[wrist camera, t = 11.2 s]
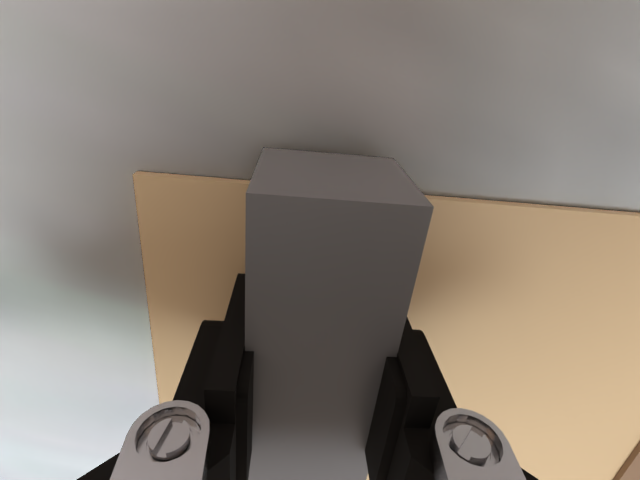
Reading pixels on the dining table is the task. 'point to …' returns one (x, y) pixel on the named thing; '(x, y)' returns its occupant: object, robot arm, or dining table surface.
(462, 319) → the notepad
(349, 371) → the marker
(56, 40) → the dining table surface
